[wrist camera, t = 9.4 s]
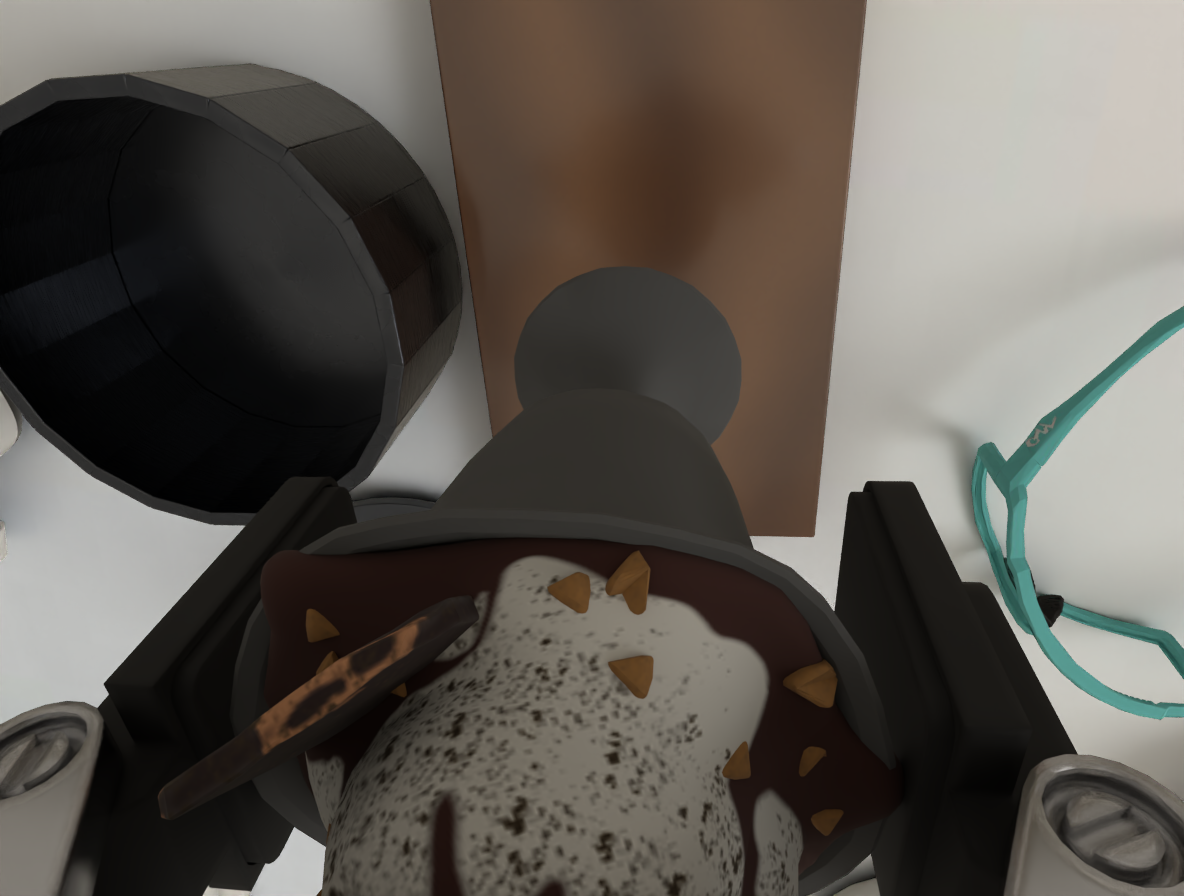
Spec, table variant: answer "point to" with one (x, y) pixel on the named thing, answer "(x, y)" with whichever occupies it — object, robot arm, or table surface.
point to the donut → (861, 889)
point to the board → (666, 190)
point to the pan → (217, 283)
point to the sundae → (566, 652)
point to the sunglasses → (1014, 568)
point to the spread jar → (7, 445)
